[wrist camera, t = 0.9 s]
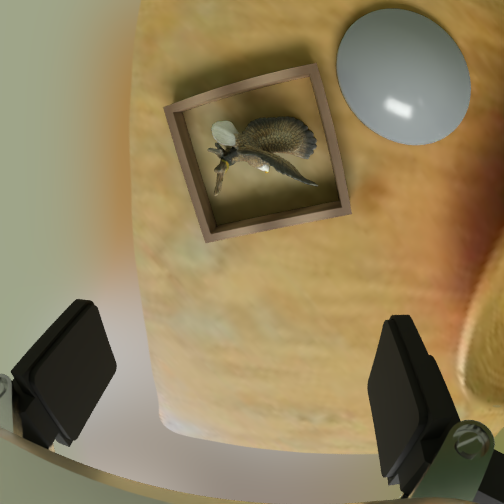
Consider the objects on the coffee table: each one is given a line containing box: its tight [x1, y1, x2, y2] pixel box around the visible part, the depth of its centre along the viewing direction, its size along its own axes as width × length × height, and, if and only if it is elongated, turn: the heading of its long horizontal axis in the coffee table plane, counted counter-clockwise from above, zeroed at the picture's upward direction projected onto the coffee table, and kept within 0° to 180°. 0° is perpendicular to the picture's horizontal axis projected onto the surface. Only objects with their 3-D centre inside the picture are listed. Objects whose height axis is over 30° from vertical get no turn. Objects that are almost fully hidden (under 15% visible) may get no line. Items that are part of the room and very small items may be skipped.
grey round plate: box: [336, 9, 471, 145], centre depth 24 cm, size 14×14×1 cm
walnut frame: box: [163, 63, 352, 243], centre depth 29 cm, size 15×14×2 cm
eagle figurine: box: [208, 116, 318, 196], centre depth 28 cm, size 8×7×9 cm
